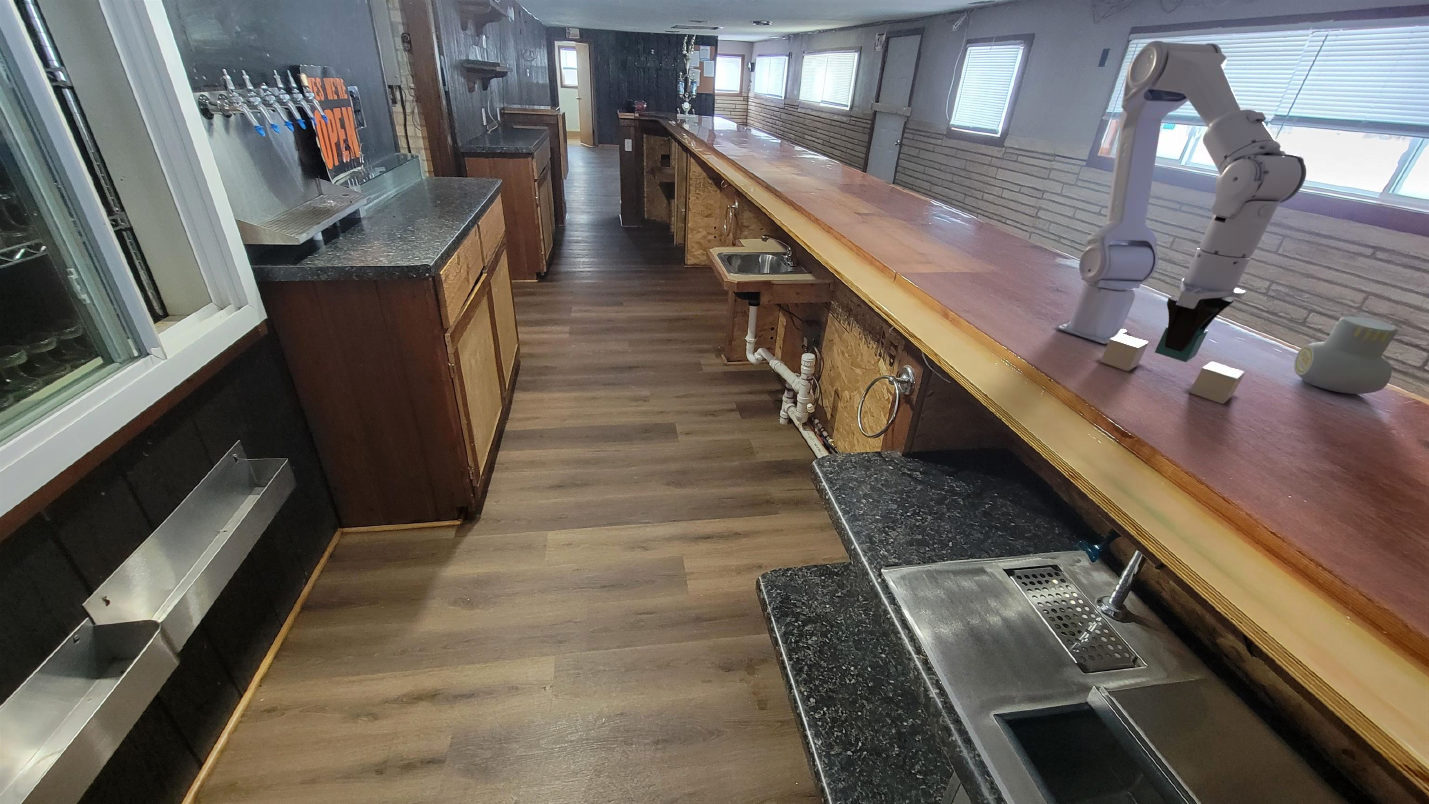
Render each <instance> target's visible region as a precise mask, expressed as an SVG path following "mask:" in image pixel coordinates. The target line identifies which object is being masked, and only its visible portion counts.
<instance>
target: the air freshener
mask: <svg viewBox="0 0 1429 804" xmlns="http://www.w3.org/2000/svg"><path fill="white" fill-rule="evenodd" d="M1398 332H1399V331H1398V329H1397V328H1396V327H1395V326H1394V325H1392V324H1390V323H1386V322H1383V321H1380V320H1376V319H1371V318H1368V317H1361V316H1352V315H1351V316H1343V317H1341V318H1340V319H1338V322H1337V323H1336V324H1335V326H1334V328H1332V331H1331V332H1330V334H1329V335H1328V337H1327V338H1326V340H1325V341H1318V342H1312V343H1307V344H1305V345H1303V346H1302V347H1301V348H1300V349H1299V351H1298V352H1297V353H1296V356H1295V359H1294V365H1293V368H1294V372H1295V374H1296V375H1297V376H1298V377H1299V378H1300V379H1301V380H1302V381H1303V382H1305V383H1306V384H1309V385H1311V386H1315V387H1317V388H1321V389H1323V390H1327V391H1331V392H1334V393H1339V394H1347V395H1348V394H1349V395H1359V394H1360V395H1364V394H1371V393H1372V394H1373V393H1376V392H1379V391H1381V390H1384V388H1386V386H1387V385H1388V384H1389V383H1390V380H1391V378H1392V373H1393V368H1392V365H1391V362H1390V361H1389V360H1388V359H1387V358H1385V357H1384V356H1383V355H1384V353H1385V352H1386V350H1387V348H1388V347H1389V345H1391V343H1392V341H1393V339H1394V338H1395V336H1396V335H1397V333H1398Z"/></svg>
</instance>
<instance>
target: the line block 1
mask: <svg viewBox="0 0 1429 804" xmlns="http://www.w3.org/2000/svg"><path fill="white" fill-rule="evenodd" d="M1148 344H1149V341H1147V340H1143V339H1140V338H1136V337H1133V336H1129V335H1127V334H1119V335H1117V336H1115V337H1113V338H1111V339H1110V340H1109V342H1108V343H1107V345H1106V347H1105V349H1104V352H1103V354H1102V357H1101V359H1100V363H1102V364H1105V365H1108V366H1110V367H1114V368H1117V369H1120V370H1122V371H1126V372H1129V371H1131V370H1132V369H1134V368H1136V367H1137V366H1139V364H1140V362H1141V360H1142V358H1143V355H1144V353H1145V351H1146V349H1147V347H1148Z"/></svg>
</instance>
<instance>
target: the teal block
mask: <svg viewBox="0 0 1429 804" xmlns="http://www.w3.org/2000/svg"><path fill="white" fill-rule="evenodd" d="M1167 329H1168V326H1166V327H1165V329H1164V331H1163V333H1162V335H1161V336H1160V337H1161V338H1160V339H1159V342H1158V344H1157V346H1156V348H1155V350H1154V353H1155V354H1157V355H1162V356H1164V357H1168V358H1171V359H1174V360H1177V361H1180V362H1184V363H1187V362H1189V361H1191V359H1193V358H1194V357H1196V356H1197V354H1198V352H1199V350H1200V348H1201V346H1202V344H1203V342H1204V340H1205V338H1206V336H1207V334H1208V332H1209V330H1207V329H1205V330H1204V329H1199V330H1198V331H1197V333H1196V334H1195V335H1194V337H1193V338H1192V340H1191V341H1190V342H1189V344H1188V345H1187V346H1186V347H1185V348H1184V349H1183V350H1182V351H1181V352H1180V351H1176V350H1173V349H1170V348H1166V347H1165V339H1166V334H1167Z"/></svg>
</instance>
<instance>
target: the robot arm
mask: <svg viewBox="0 0 1429 804" xmlns="http://www.w3.org/2000/svg"><path fill="white" fill-rule="evenodd" d="M1227 60H1228V59H1227V56H1226V55H1225V54H1223V51H1222V49H1221V47H1220V45H1218V44H1216V43H1212V42H1211V43H1209V42H1208V43H1205V44H1204V43H1203V44H1202V43H1183V42H1182V43H1181V42H1164V41H1162V40H1152V41H1150V42H1148V43H1146V44H1145V45H1144V46H1143V47H1142V48H1141V49H1140V50H1139V52H1138V53H1137V54H1136V55H1135V57H1134V59H1132V61H1131V62H1130V64H1129V65H1128V67H1127V68H1126V71H1125V79H1124V86H1123V93H1122V99H1121V107H1120V108H1121V109H1122V111H1121V116H1120V121H1119V122H1120V123H1119V129H1118V135H1117V143H1116V150H1115V157H1114V164H1113V170H1112V178H1111V184H1110V191H1109V198H1108V205H1107V212H1106V213H1107V214H1106V219H1105V225H1104V226H1102V227H1101V228H1099V229H1098V230H1097V231H1094V233H1092V234H1090V235H1089V236H1088V237H1086V242H1085V247H1084V250H1083V253H1082V254H1081V256H1080V259H1079V263H1078V269H1079V274H1080V276H1081V278H1080V279H1081V280H1082V281H1083V285H1082V288H1081V290H1080V293H1079V295H1078V298H1077V301H1076V303H1075V307H1074V309H1073V311H1072V315H1071V317H1070V319H1069V322H1065V323H1063V324H1061V325H1059V326H1058V327H1057V329H1058V330H1059V331H1063V332H1065V333H1069V334H1071V335H1074V336H1077V337H1081V338H1084V339H1087V340H1090V341H1094V342H1097V343H1100V344H1102V345H1106V344H1108V342H1109V340H1110V339H1111V338H1113V337H1115V336H1117V335H1119V334H1124V335H1127V333H1128V330H1126V329H1124V328H1123V327H1124V324H1125V322H1126V321H1127V320H1126V319H1127V318H1128V315H1129V314H1130V310H1131V308H1132V306H1133V303H1134V301H1135V299H1136V293H1135V290H1136V289H1139V288H1140V287H1141V285H1142V283H1145V282H1147V281H1149V280H1150V279H1151V278H1152V277H1153V276H1154V274H1155V272H1156V271H1157V268H1158V265H1159V253H1158V250H1157V243H1158V236H1157V234H1156V233H1155V232H1154V231H1153V230H1152V229H1151V228H1150V227H1149V226H1148V225H1147V224H1146V223H1147V222H1146V221H1147V216H1148V211H1149V204H1150V197H1151V191H1152V184H1153V177H1154V172H1155V171H1154V170H1155V164H1156V160H1157V159H1156V158H1157V152H1158V146H1159V140H1160V134H1161V133H1160V132H1161V126H1162V121H1163V119H1165V118H1166V116H1168V114H1170V113H1172V112H1176V111H1177V110H1178V109H1180V108H1181V107H1182V106H1184V105H1185V104H1186V103H1187V102H1189V103H1190V104H1191V106H1192V107H1193V108H1194V110H1195V111H1196V113H1197V114H1198V115H1199V117H1200V119H1201V120H1202V121H1203V123H1204V124H1205V125H1206V127H1207V129H1206V131H1205V133H1204V134H1203V138H1202V143H1203V145H1204V147H1205V148H1206V151H1207V152H1208V154H1209V156H1210V158H1211V161H1212V162H1213V163H1214V165H1215V167H1216V169H1217V171H1218V173H1219V175H1217V178H1216V180H1215V186H1214V191H1215V201H1214V202H1213V205H1212V207H1211V209H1212V211H1211V213H1212V214H1213V215H1212V217H1211V219H1210V221H1209V223H1208V225H1207V227H1206V230H1205V232H1204V235H1203V236H1202V239H1201V241H1200V243H1199V245H1198V247H1197V249H1196V251H1195V255H1194V256H1193V258H1192V260H1191V262H1190V265H1189V267H1188V268H1187V271H1186V273H1185V275H1184V278H1182V279H1180V282H1179V288H1180V291H1181V292H1180V294H1179V296H1177V295H1172V296H1170V297H1168V298H1167V301H1166V307H1167V311H1168V323H1167V327H1168V329H1167V334H1166V339H1165V347H1166V348H1170V349H1173V350H1176V351H1180V352H1181V351H1182V350H1183V349H1184V348H1185V347H1186V346H1187V345H1188V344H1189V342H1190V341H1191V340H1192V338H1193V337H1194V335H1195V334H1196V333H1197V331H1198V330H1199V329H1204V330H1207V328H1208V327H1209V326H1210V325H1211V323H1212V322H1213V321H1214V320H1215V318H1216V317H1218V315H1220V314H1221V313H1222V312H1223V311H1224V310H1226V309H1227V308H1228V307H1229V306H1230V305H1232V304H1234V301H1235V299H1234V298H1236V299H1237V298H1238V299H1241V298H1243V297H1244V296H1245V294H1246V290H1242V289H1240V288H1237V287H1238V284H1239V282H1240V280H1241V279H1242V277H1243V274H1244V272H1245V270H1246V268H1247V267H1248V264H1249V263H1250V261H1251V259H1252V257H1253V255H1254V253H1255V251H1256V249H1257V247H1258V245H1259V243H1260V242H1261V240H1262V239H1263V238H1262V237H1263V235H1264V234H1265V232H1266V230H1267V227H1268V226H1269V224H1270V222H1271V220H1272V218H1273V216H1274V214H1275V212H1276V210H1277V208H1278V206H1279V204H1283V203H1285V202H1287V201H1289V200H1291V199H1292V198H1294V197H1295V196H1296V195H1297V194H1298V193H1299V191H1300V190H1301V188H1302V187H1303V185H1304V183H1305V181H1306V177H1307V167H1306V164H1305V160H1304V157H1302V156H1300V155H1297V154H1291V153H1290V154H1287V153H1286V152H1285V150H1281V148H1282V147H1281V144H1280V142H1279V141H1278V140H1275V139H1274V138H1273V136H1272V134H1271V132H1270V131H1269V129H1268V128H1267V126H1266V124H1265V123H1264V122H1265V121H1266V120H1267V117H1266V116H1265V114H1264V113H1263V112H1262V111H1256V110H1253V109H1241V107H1240V105H1239V102H1238V100H1237V97H1236V96H1235V93H1234V91H1233V89H1232V87H1231V84H1230V82H1229V80H1228V77H1227V75H1226V73H1225V71H1224V68H1225V66H1226V63H1227Z"/></svg>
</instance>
